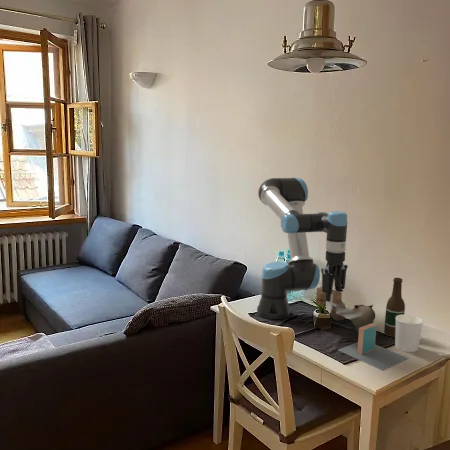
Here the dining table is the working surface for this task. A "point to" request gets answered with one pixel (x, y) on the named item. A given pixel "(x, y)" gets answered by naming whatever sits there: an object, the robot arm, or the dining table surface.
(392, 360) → the mat
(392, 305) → the beer bottle
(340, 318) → the vase
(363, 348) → the tan rectangular bar
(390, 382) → the dining table surface
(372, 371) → the dining table surface
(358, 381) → the dining table surface
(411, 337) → the white cup
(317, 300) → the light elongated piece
